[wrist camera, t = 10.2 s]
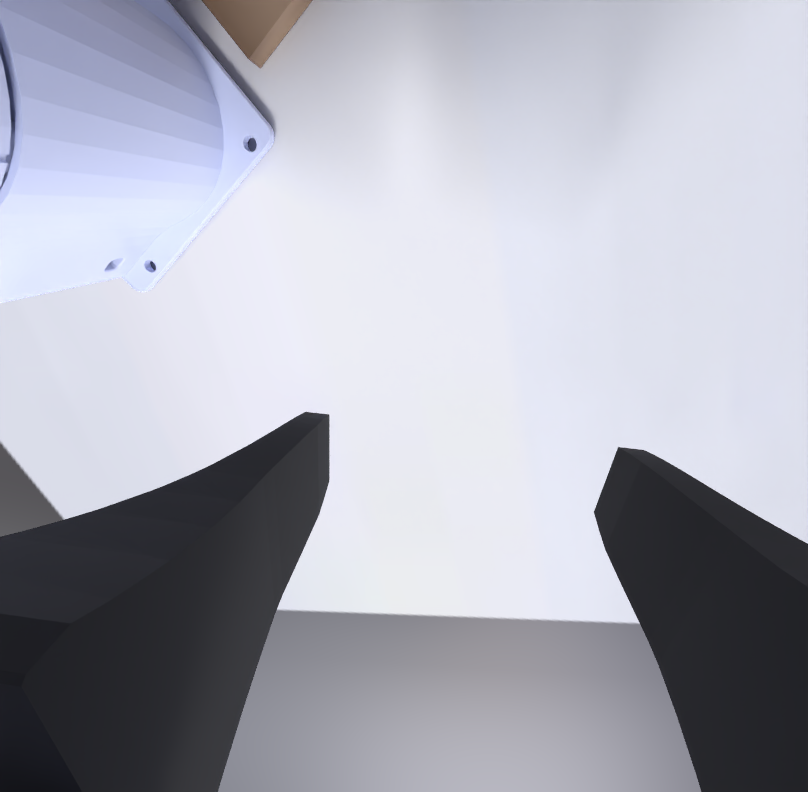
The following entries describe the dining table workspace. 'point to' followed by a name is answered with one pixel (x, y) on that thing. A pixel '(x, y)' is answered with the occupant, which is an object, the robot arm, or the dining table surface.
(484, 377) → the dining table surface
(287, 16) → the board
